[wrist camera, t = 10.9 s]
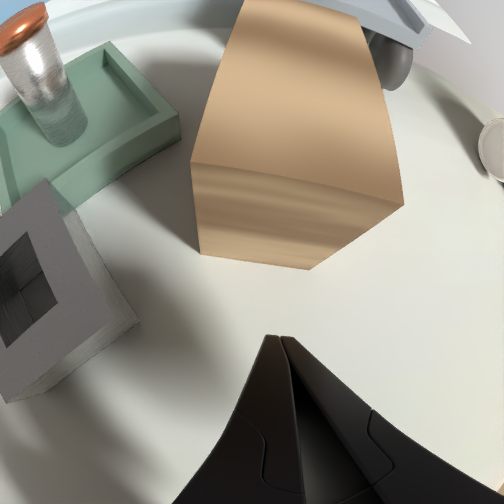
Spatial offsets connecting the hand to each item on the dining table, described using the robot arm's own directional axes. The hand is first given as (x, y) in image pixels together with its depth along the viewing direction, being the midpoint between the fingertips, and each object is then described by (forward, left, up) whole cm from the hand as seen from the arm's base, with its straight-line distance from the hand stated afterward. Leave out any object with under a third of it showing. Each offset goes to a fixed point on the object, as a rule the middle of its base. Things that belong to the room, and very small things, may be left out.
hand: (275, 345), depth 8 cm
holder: (-8, +8, -7) cm, 13 cm away
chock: (+7, +7, -7) cm, 12 cm away
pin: (-2, +18, -6) cm, 19 cm away
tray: (-2, +18, -7) cm, 19 cm away
